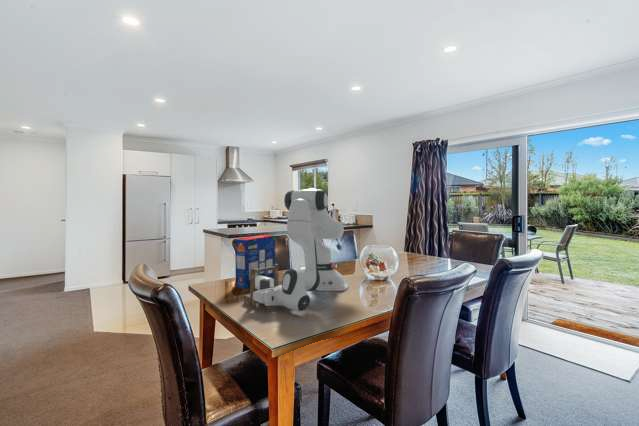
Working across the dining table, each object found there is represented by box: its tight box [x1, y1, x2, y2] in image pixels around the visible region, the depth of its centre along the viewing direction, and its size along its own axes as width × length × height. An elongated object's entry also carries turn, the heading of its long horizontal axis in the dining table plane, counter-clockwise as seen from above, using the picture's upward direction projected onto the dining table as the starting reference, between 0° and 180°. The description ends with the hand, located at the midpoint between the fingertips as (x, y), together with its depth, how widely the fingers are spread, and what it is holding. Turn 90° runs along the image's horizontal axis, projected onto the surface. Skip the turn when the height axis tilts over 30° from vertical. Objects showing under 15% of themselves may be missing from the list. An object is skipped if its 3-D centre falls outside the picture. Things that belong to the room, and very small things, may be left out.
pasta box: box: [234, 234, 276, 290], centre depth 194 cm, size 28×8×28 cm, turn 153°
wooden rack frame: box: [243, 263, 279, 308], centre depth 158 cm, size 8×16×18 cm, turn 136°
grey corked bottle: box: [260, 278, 270, 290], centre depth 157 cm, size 5×5×11 cm
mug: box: [255, 275, 274, 290], centre depth 179 cm, size 12×10×8 cm
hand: (263, 289), depth 158 cm, fingers closed on grey corked bottle, 5 cm apart
